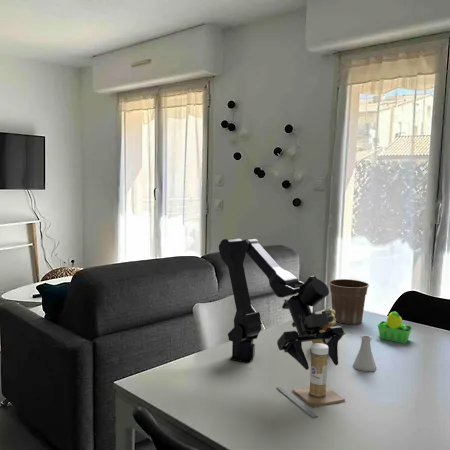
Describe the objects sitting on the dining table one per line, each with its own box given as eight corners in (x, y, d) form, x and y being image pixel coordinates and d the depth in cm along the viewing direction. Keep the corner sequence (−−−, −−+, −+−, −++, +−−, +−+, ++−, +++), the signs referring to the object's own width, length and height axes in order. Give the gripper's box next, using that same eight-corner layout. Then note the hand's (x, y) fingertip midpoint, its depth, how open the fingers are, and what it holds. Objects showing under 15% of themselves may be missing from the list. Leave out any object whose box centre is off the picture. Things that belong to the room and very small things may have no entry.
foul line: (276, 388, 134) (276, 387, 134) (281, 387, 134) (281, 386, 134) (312, 418, 117) (312, 416, 117) (317, 417, 118) (317, 415, 118)
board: (292, 391, 132) (292, 389, 132) (323, 386, 136) (323, 384, 136) (312, 407, 123) (312, 405, 123) (344, 401, 127) (345, 399, 127)
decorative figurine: (333, 355, 160) (335, 311, 159) (308, 352, 163) (310, 309, 162) (336, 346, 169) (338, 305, 168) (313, 343, 172) (314, 302, 171)
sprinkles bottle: (305, 393, 129) (307, 345, 128) (314, 388, 133) (316, 341, 131) (320, 399, 126) (323, 349, 125) (329, 393, 130) (331, 345, 128)
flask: (377, 373, 146) (379, 341, 145) (353, 370, 148) (354, 339, 147) (375, 364, 153) (376, 334, 153) (351, 362, 155) (353, 332, 154)
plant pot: (345, 328, 192) (347, 288, 190) (319, 317, 206) (321, 280, 204) (375, 323, 199) (377, 285, 198) (348, 313, 213) (350, 278, 212)
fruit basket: (412, 339, 180) (414, 310, 179) (407, 345, 172) (409, 315, 171) (381, 333, 186) (383, 305, 185) (375, 339, 178) (376, 309, 177)
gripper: (284, 302, 127) (305, 357, 118) (342, 297, 134) (366, 349, 125) (268, 323, 135) (287, 376, 126) (324, 317, 142) (345, 367, 133)
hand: (322, 366), depth 127 cm, fingers open, 9 cm apart
